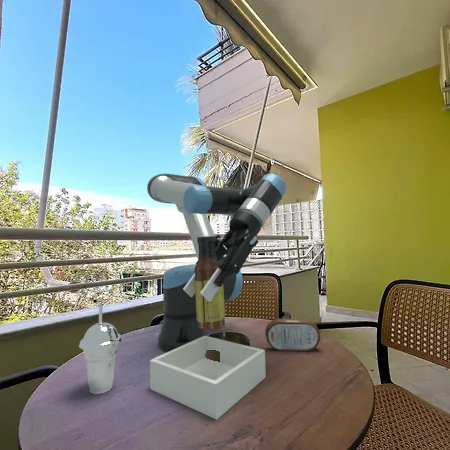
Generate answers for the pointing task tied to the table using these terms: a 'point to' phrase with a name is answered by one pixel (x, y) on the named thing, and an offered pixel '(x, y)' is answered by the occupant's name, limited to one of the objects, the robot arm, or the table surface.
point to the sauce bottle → (206, 266)
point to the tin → (292, 335)
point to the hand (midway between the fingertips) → (195, 295)
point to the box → (208, 374)
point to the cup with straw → (100, 354)
